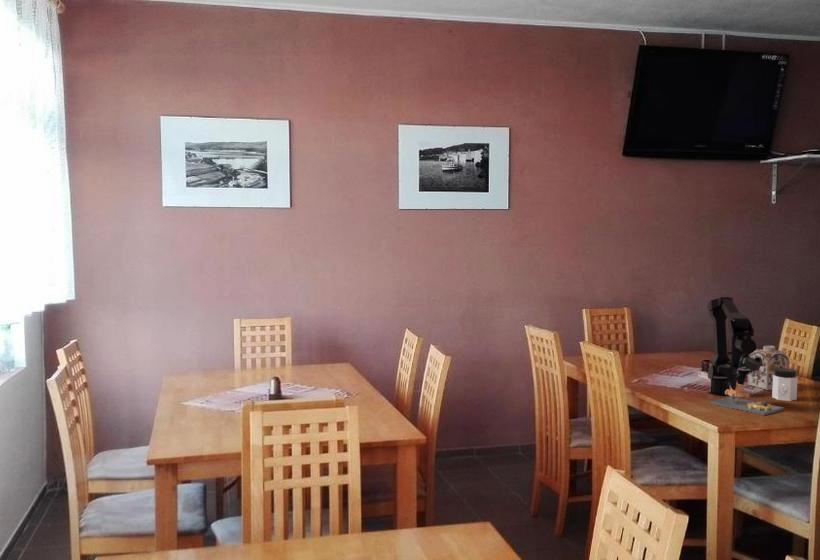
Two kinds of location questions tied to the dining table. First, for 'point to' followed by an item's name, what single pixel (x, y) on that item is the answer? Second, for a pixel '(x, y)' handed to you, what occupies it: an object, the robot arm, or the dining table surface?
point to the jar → (784, 384)
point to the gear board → (747, 405)
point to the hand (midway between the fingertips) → (737, 388)
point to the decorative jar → (767, 366)
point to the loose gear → (738, 391)
